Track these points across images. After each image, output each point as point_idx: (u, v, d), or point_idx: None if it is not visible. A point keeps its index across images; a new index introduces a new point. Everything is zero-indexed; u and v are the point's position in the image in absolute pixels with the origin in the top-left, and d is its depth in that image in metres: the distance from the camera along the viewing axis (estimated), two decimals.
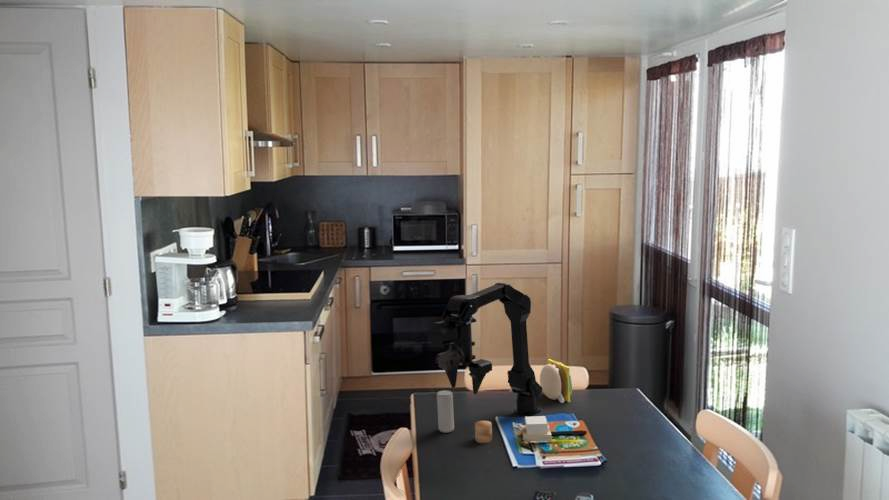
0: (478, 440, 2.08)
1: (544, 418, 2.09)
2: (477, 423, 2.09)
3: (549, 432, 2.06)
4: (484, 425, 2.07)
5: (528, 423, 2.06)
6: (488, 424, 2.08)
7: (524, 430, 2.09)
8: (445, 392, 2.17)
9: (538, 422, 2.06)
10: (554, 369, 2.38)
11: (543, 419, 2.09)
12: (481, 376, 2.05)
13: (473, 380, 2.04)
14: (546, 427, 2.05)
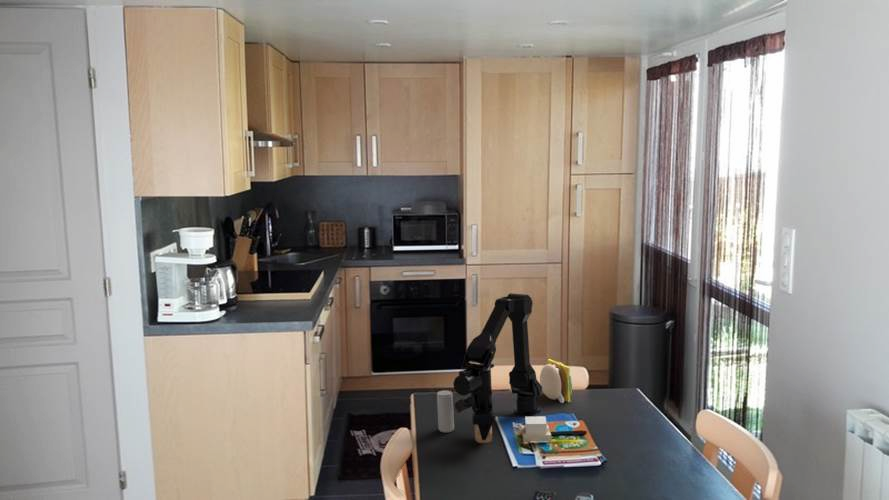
0: (478, 440, 2.08)
1: (544, 418, 2.09)
2: None
3: (549, 432, 2.06)
4: None
5: (527, 423, 2.06)
6: None
7: (524, 430, 2.09)
8: (445, 392, 2.17)
9: (537, 422, 2.06)
10: (554, 369, 2.38)
11: (543, 419, 2.09)
12: (487, 424, 2.05)
13: None
14: (545, 427, 2.05)
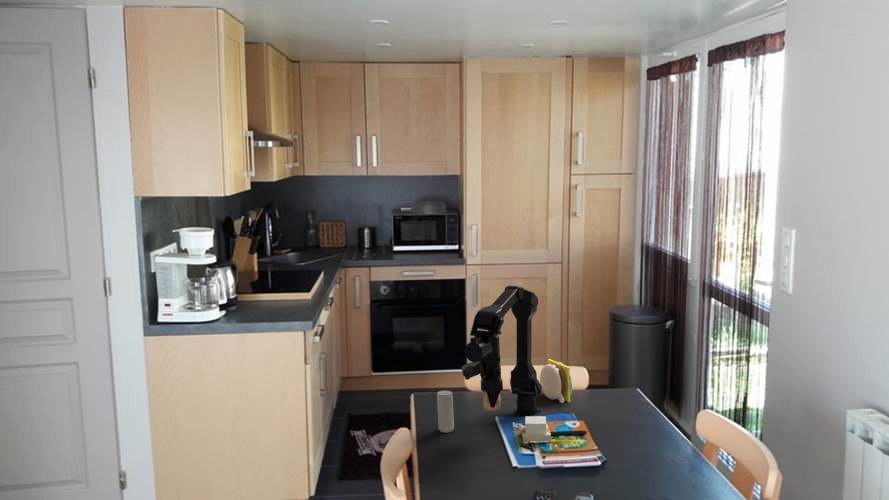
0: (486, 407, 2.07)
1: (544, 418, 2.09)
2: (485, 391, 2.08)
3: (548, 432, 2.06)
4: None
5: (527, 423, 2.06)
6: None
7: (523, 430, 2.09)
8: (445, 392, 2.17)
9: (536, 422, 2.06)
10: (554, 369, 2.38)
11: (543, 419, 2.09)
12: (496, 391, 2.03)
13: (487, 393, 2.04)
14: (545, 427, 2.05)
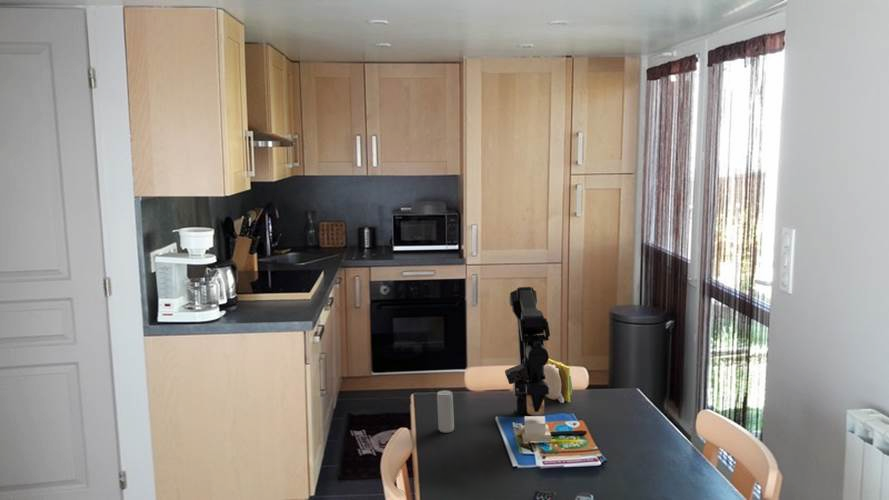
0: (530, 412, 2.06)
1: (543, 418, 2.09)
2: (529, 395, 2.08)
3: (548, 432, 2.06)
4: None
5: (526, 422, 2.06)
6: None
7: (523, 430, 2.09)
8: (445, 392, 2.17)
9: (536, 422, 2.06)
10: (554, 369, 2.38)
11: (542, 419, 2.09)
12: (540, 396, 2.03)
13: (531, 397, 2.04)
14: (544, 427, 2.05)
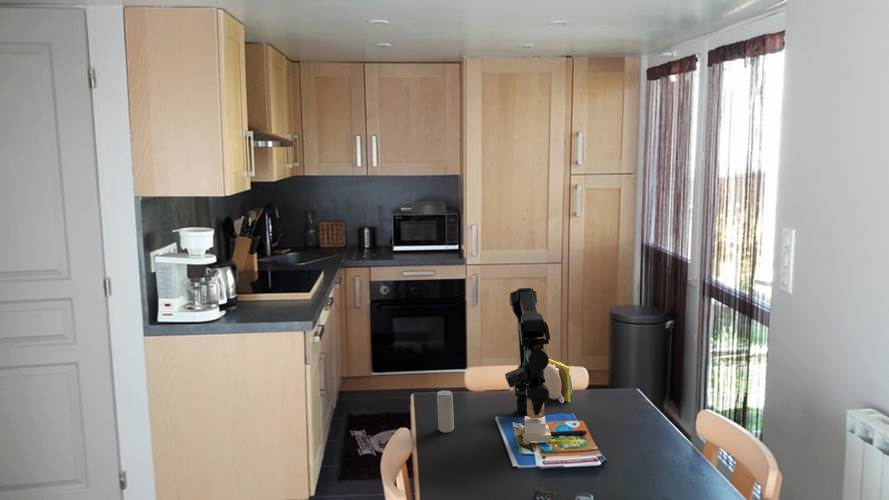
0: (530, 415, 2.06)
1: (543, 418, 2.09)
2: None
3: (549, 432, 2.06)
4: None
5: (526, 422, 2.07)
6: None
7: (524, 430, 2.08)
8: (445, 392, 2.17)
9: (536, 422, 2.06)
10: (554, 369, 2.38)
11: (542, 419, 2.09)
12: (540, 399, 2.03)
13: None
14: (544, 427, 2.05)
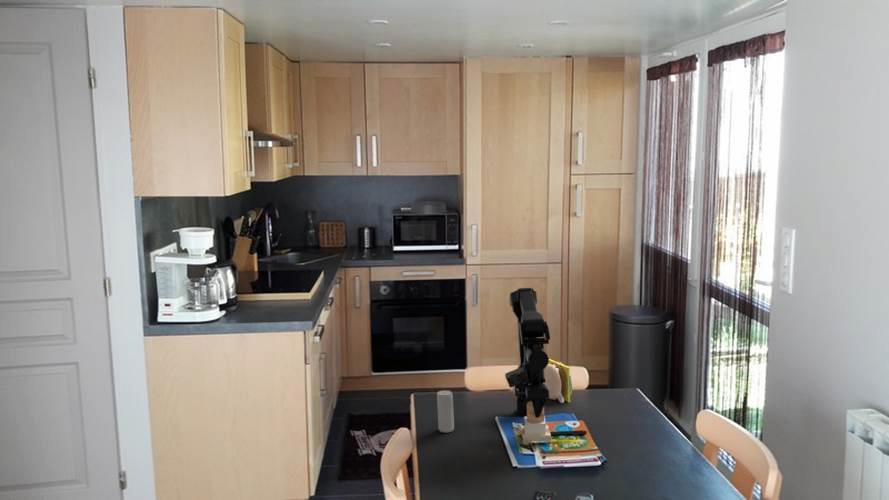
0: (530, 420, 2.07)
1: None
2: (529, 403, 2.08)
3: (548, 433, 2.06)
4: None
5: (526, 423, 2.06)
6: None
7: (523, 431, 2.08)
8: (445, 392, 2.17)
9: None
10: (554, 369, 2.38)
11: None
12: (541, 401, 2.01)
13: (532, 403, 2.02)
14: (544, 427, 2.05)
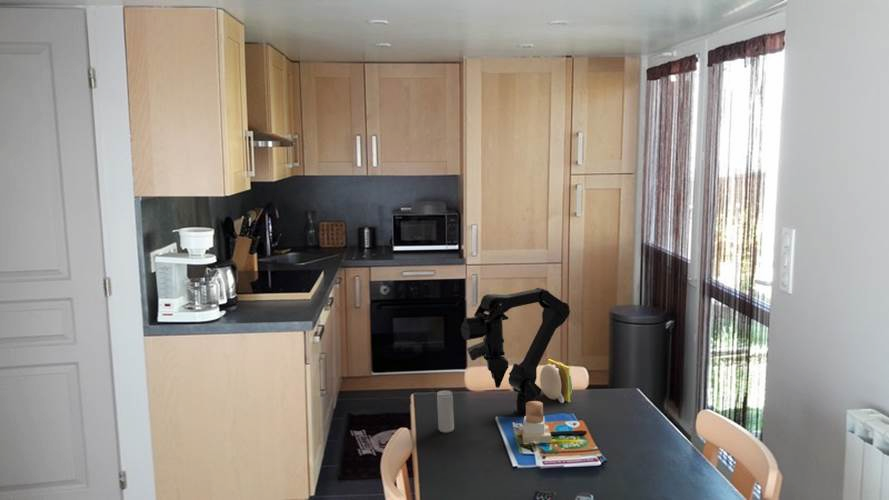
0: (529, 420, 2.06)
1: (543, 418, 2.09)
2: (528, 403, 2.08)
3: (548, 433, 2.06)
4: (536, 405, 2.06)
5: (525, 423, 2.06)
6: (539, 404, 2.06)
7: (523, 431, 2.08)
8: (445, 392, 2.17)
9: None
10: (554, 369, 2.38)
11: None
12: (501, 372, 2.17)
13: (493, 374, 2.18)
14: (542, 427, 2.05)
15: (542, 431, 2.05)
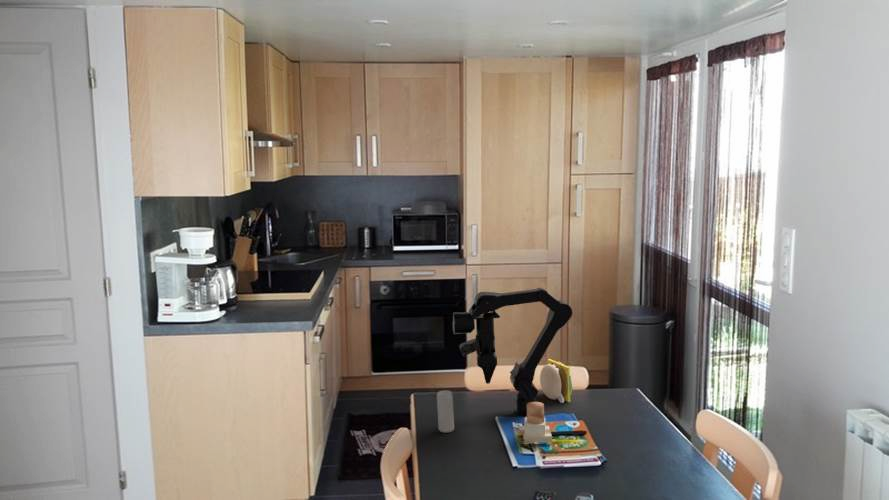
0: (530, 421, 2.06)
1: None
2: (529, 404, 2.07)
3: (549, 433, 2.05)
4: (537, 406, 2.06)
5: (526, 423, 2.06)
6: (540, 405, 2.06)
7: None
8: (445, 392, 2.17)
9: None
10: (554, 369, 2.38)
11: None
12: (491, 368, 2.21)
13: None
14: (544, 428, 2.05)
15: (543, 432, 2.05)
